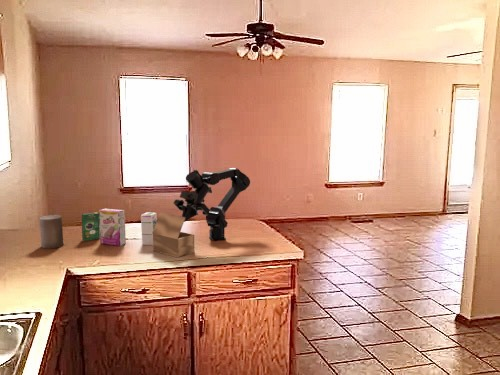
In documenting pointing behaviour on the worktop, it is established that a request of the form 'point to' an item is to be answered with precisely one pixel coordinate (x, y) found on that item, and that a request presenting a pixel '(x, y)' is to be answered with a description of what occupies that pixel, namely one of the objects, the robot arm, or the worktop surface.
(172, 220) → the flap
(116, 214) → the candy bar box
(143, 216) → the syrup box
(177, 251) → the light wood open box
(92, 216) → the coffee box
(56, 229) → the pillar candle
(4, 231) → the worktop surface
